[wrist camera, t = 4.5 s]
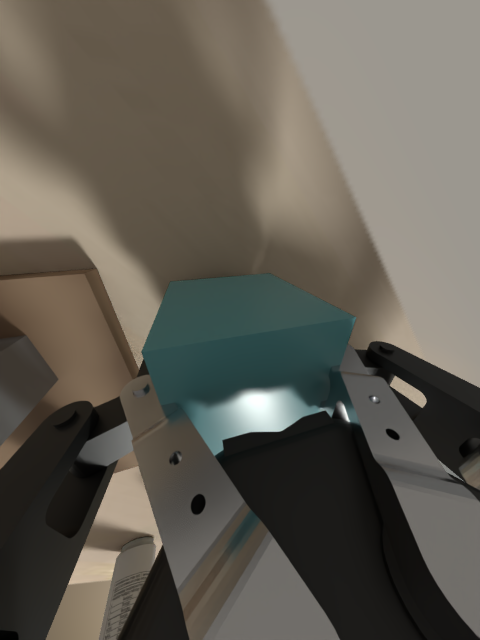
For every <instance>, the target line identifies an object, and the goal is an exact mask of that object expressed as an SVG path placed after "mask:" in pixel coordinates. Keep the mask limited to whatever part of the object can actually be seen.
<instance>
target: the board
mask: <svg viewBox="0 0 480 640" xmlns="http://www.w3.org/2000/svg"><path fill="white" fill-rule="evenodd" d="M138 372H139V369H138V367H137V364H136V362H135V359H134V357H133V355H132V352H131V350H130V347H129V345H128V342H127V340H126V338H125V335H124V333H123V330H122V328H121V326H120V323H119V321H118V318H117V316H116V314H115V311H114V309H113V306H112V304H111V302H110V299H109V297H108V294H107V292H106V290H105V287H104V285H103V282H102V280H101V277H100V275H99V273H98V270H97V269H85V270H72V271H58V272H44V273H31V274H17V275H4V276H0V469H1V468H2V467H3V466H4V465H5V464H6V463H7V461H8V460H9V459H10V458H11V457H12V456H13V455H14V454H15V452H16V451H17V450H18V449H19V448H20V447H21V446H22V445H23V443H24V442H25V441H26V440H27V439H28V438H29V437H30V436H31V434H32V433H33V432H34V431H35V430H36V429H37V428H38V427H39V425H40V424H41V423H42V422H43V421H44V420H45V419H46V418H47V417H48V416H50V415H51V414H52V413H54V412H55V411H57V410H58V409H60V408H62V407H64V406H66V405H68V404H70V403H73V402H77V401H89V402H90V403H91V404H92V405H93V407H96V406H98V405H101V404H103V403H105V402H108V401H110V400H112V399H115V398H117V397H119V396H120V393H121V391H122V389H123V388H124V386H125V385H126V384H128V383H129V382H130V381H132V380H133V379H135V378H137V375H138ZM136 466H138V462H137V459H136V456H135V453H134V451H132V452H130V453H128V454H127V455H125V456H123V457H122V458H120V459H119V460H118V462H117V465H116V467H115V470H114V472H113V473H117V472H120V471H123V470H127V469H130V468H133V467H136Z"/></svg>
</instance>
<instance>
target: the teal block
mask: <svg viewBox="0 0 480 640" xmlns="http://www.w3.org/2000/svg"><path fill="white" fill-rule="evenodd" d="M355 320H356V317H355V316H353V315H351V314H349V313H347V312H345V311H343V310H341V309H339V308H337V307H335V306H333V305H331V304H329V303H327V302H325V301H323V300H321V299H319V298H317V297H315V296H313V295H311V294H309V293H307V292H306V291H304V290H302V289H300V288H298V287H296V286H294V285H292V284H290V283H288V282H286V281H284V280H282V279H280V278H278V277H276V276H274V275H272V274H270V273H267V274H255V275H243V276H231V277H219V278H207V279H195V280H183V281H171V282H170V283H169V286H168V288H167V291H166V293H165V296H164V298H163V301H162V303H161V305H160V308H159V310H158V313H157V315H156V318H155V320H154V323H153V325H152V327H151V330H150V332H149V335H148V337H147V340H146V342H145V344H144V347H143V349H142V355H143V358H144V361H145V363H146V366H147V369H148V372H149V374H150V377H151V380H152V383H153V385H154V388H155V391H156V394H157V396H158V399H159V402H160V405H166V404H170V403H175V404H176V406H177V407H178V408H182V409H183V410H184V411H185V413H186V414H187V416H188V417H189V419H190V420H191V422H192V423H193V425H194V426H195V428H196V429H197V431H198V432H199V434H200V435H201V437H202V438H203V440H204V441H205V443H206V444H207V446H208V447H209V449H210V450H211V452H212V453H213V455H214V456H215V455H216V454H218V453H219V452H221V451H222V450H223V442H222V440H224V439H228V438H231V437H235V436H238V435H242V434H245V433H249V432H280V431H283V430H284V429H286V428H287V427H289V426H290V425H292V424H293V423H295V422H296V421H297V420H299V419H300V418H302V417H304V416H307V415H311V414H314V413H318V412H319V406H320V403H321V401H325V400H327V398H328V395H329V392H330V379H329V376H328V375H329V372H330V369H331V367H332V366H337V365H341V363H342V360H343V357H344V353H345V350H346V347H347V344H348V341H349V338H350V335H351V332H352V329H353V326H354V323H355Z"/></svg>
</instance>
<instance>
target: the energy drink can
mask: <svg viewBox="0 0 480 640" xmlns="http://www.w3.org/2000/svg"><path fill="white" fill-rule="evenodd" d="M153 540H154V539H153V538H152V537H143V538H139V539H136V540H133V541H131V542H129V543H127V544H126V545H124V546H123V548H122V551H121V553H120V554H119V555H118V557H117V558H116V563H115V567H114V572H113V576H112V581H111V586H110V590H109V595H108V600H107V604H106V609H105V613H104V618H103V623H102V627H101V632H100V636H99V640H117V638H118V636H119V634H120V632H121V630H122V628H123V626H124V624H125V622H126V619H127V617H128V615H129V613H130V611H131V609H132V607H133V605H134V603H135V601H136V599H137V597H138V595H139V593H140V591H141V589H142V586H143V584H144V582H145V580H146V578H147V576H148V574H149V572H150V570H151V568H152V566H153V564H154V561H155V551H156V545H155V544H154V543H153Z"/></svg>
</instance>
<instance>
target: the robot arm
mask: <svg viewBox="0 0 480 640" xmlns="http://www.w3.org/2000/svg"><path fill="white" fill-rule="evenodd" d="M328 376H329V379H330V392H329V395H328V398H327V400H325V401H321V403H320V406H319V412H318V413H314V414H311V415H307V416H304V417H302V418H300V419H299V420H297V421H296V422H295V423H293V424H292V425H290V426H289V427H287V428H286V429H284V430H283V431H280V432H249V433H245V434H242V435H238V436H235V437H231V438H228V439H224V440H222V442H223V450H222V451H221V452H219V453H218V454H216V455H215V456H214V455H213V453H212V452H211V450H210V449H209V447H208V446H207V444H206V443H205V441H204V440H203V438H202V437H201V435H200V434H199V432H198V431H197V429H196V428H195V426H194V425H193V423H192V422H191V420H190V419H189V417H188V416H187V414H186V413H185V411H184V410H183V409H182V408H178V407H177V406H176V404H175V403H170V404H166V405H160V402H159V399H158V396H157V394H156V391H155V388H154V385H153V383H152V380H151V377H150V374H149V372H148V369H147V366H146V363H145V361H144V359H143V361H142V364H141V367H140V370H139V372H138V375H137V378H135V379H133V380H132V381H130V382H129V383H128V384H126V385H125V386H124V388H123V389H122V391H121V393H120V396H119V397H117V398H115V399H112V400H110V401H108V402H105V403H103V404H101V405H98V406H96V407H93V405H92V404H91V403H90V402H89V401H77V402H73V403H70V404H68V405H66V406H64V407H62V408H60V409H58V410H57V411H55V412H54V413H52V414H51V415H50V416H48V417H47V418H46V419H45V420H44V421H43V422H42V423H41V424H40V425H39V427H38V428H37V429H36V430H35V431H34V432H33V433H32V434H31V436H30V437H29V438H28V439H27V440H26V441H25V442H24V443H23V445H22V446H21V447H20V448H19V449H18V450H17V451H16V452H15V454H14V455H13V456H12V457H11V458H10V459H9V460H8V461H7V463H6V464H5V465H4V466H3V467H2V468H1V469H0V640H45V639H46V637H47V634H48V632H49V629H50V627H51V625H52V622H53V620H54V617H55V615H56V612H57V610H58V607H59V605H60V602H61V600H62V597H63V595H64V593H65V590H66V588H67V585H68V583H69V580H70V578H71V575H72V573H73V571H74V568H75V566H76V563H77V561H78V558H79V556H80V553H81V551H82V548H83V546H84V544H85V541H86V539H87V536H88V534H89V531H90V529H91V526H92V524H93V521H94V519H95V516H96V514H97V512H98V509H99V507H100V504H101V502H102V499H103V497H104V494H105V492H106V489H107V487H108V485H109V482H110V480H111V477H112V475H113V472H114V470H115V467H116V465H117V462H118V460H119V459H120V458H122V457H123V456H125V455H127V454H128V453H130V452H132V451H134V453H135V456H136V459H137V462H138V466H139V469H140V472H141V475H142V479H143V482H144V485H145V488H146V491H147V495H148V498H149V501H150V504H151V508H152V511H153V514H154V517H155V520H156V524H157V527H158V530H159V533H160V537H161V540H162V543H163V545H162V547H161V549H160V551H159V553H158V555H157V558H156V560H155V562H154V564H153V566H152V568H151V570H150V572H149V574H148V576H147V578H146V580H145V582H144V584H143V586H142V589H141V591H140V593H139V595H138V597H137V599H136V601H135V603H134V605H133V607H132V609H131V611H130V613H129V615H128V617H127V619H126V622H125V624H124V626H123V628H122V630H121V632H120V634H119V636H118V638H117V640H480V388H479V387H477V386H475V385H473V384H471V383H469V382H467V381H465V380H463V379H461V378H459V377H456V376H455V375H453V374H451V373H448V372H447V371H445V370H443V369H440V368H438V367H436V366H434V365H432V364H430V363H428V362H426V361H424V360H422V359H420V358H418V357H416V356H414V355H412V354H410V353H408V352H406V351H404V350H402V349H400V348H398V347H396V346H394V345H392V344H389V343H385V342H379V341H375V342H371V343H370V344H369V346H368V349H367V350H355V349H354V348H353V347H352V346H351V345H349V344H347V347H346V350H345V353H344V357H343V360H342V363H341V365H337V366H332V367H331V369H330V372H329V375H328ZM394 376H397V377H398V378H400V379H402V380H403V381H405V382H406V383H408V384H410V385H411V386H413V387H414V388H416V389H418V390H419V391H421V392H422V393H423V394H424V395H425V397H426V399H427V403H426V405H425V406H424V407H423V408H421V407H420V406H418V405H417V404H415V403H414V402H412V401H411V400H409V399H408V398H407V397H405V396H404V395H402V394H401V393H399V392H398V391H396V390H395V389H393V388H392V387H391V386H390V384H391V382H392V380H393V378H394ZM438 460H440V461H441V462H442V463H443V464H444V465H446V466H447V467H448V468H449V469H450V470H451V471H453V472H454V473H455V474H456V475H457V476H459V477H460V478H461V479H462V480H463V481H462V480H460V479H458V478H456V477H454V476H453V475H450V474H449V473H447V472H446V471H445V470H444V468H443V466H442V465H441V464H440V462H439V461H438ZM464 481H465V482H464Z"/></svg>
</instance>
